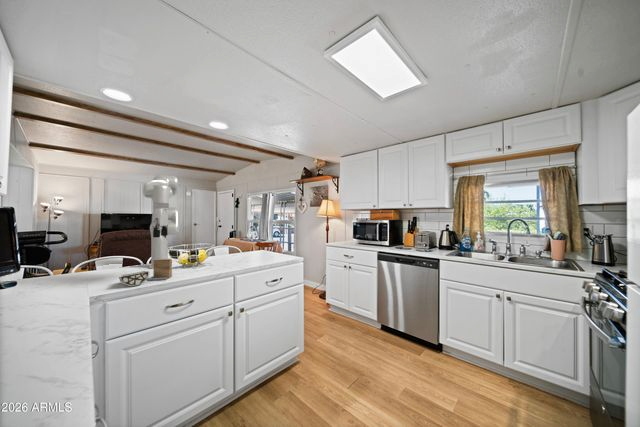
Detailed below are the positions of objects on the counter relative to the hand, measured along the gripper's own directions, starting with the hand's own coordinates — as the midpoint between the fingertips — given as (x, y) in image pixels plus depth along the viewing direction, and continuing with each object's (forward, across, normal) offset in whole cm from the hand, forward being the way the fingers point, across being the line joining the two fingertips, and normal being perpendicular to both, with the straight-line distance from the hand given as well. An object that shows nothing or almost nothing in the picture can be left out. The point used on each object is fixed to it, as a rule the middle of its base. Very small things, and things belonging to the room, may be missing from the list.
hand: (160, 236), depth 133 cm
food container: (+22, +6, -10) cm, 25 cm away
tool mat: (+24, 0, 0) cm, 24 cm away
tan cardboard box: (+23, 0, +1) cm, 23 cm away
